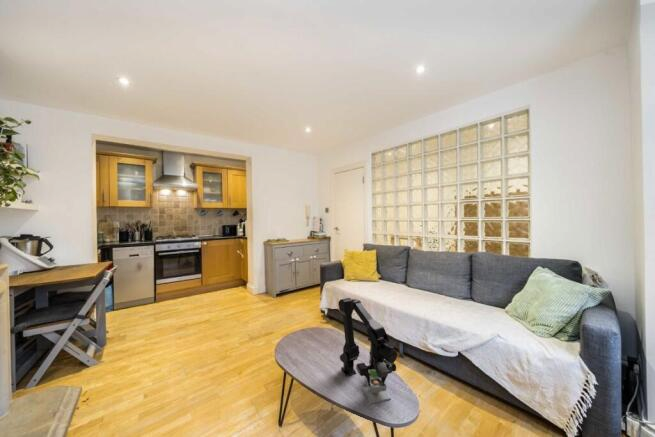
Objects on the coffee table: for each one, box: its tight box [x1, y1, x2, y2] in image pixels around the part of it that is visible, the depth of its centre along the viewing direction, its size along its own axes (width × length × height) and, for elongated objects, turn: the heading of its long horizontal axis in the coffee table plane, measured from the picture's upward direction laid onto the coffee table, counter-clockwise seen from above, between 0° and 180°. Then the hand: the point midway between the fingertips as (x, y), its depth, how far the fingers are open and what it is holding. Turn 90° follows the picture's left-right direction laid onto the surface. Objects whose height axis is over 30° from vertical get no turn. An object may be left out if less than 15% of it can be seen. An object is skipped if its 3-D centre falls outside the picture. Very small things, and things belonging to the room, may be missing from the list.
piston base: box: [362, 381, 391, 404], centre depth 120 cm, size 10×10×6 cm
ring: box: [365, 377, 387, 393], centre depth 120 cm, size 7×7×2 cm
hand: (375, 384), depth 120 cm, fingers closed on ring, 7 cm apart
